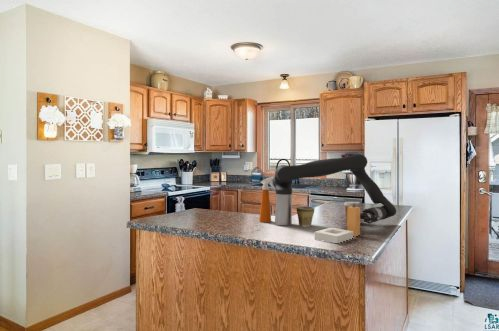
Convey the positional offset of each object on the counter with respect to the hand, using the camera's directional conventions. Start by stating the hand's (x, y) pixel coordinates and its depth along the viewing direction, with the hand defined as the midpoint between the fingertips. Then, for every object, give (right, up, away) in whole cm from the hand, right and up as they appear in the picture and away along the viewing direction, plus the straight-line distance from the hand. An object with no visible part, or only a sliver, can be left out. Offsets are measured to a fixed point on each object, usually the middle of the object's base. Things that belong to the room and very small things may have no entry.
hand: (356, 218), depth 171 cm
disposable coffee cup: (+6, -7, +29) cm, 31 cm away
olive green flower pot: (-22, -7, +23) cm, 32 cm away
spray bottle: (-42, -7, +32) cm, 53 cm away
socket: (-13, -8, -9) cm, 18 cm away
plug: (-2, -8, -2) cm, 8 cm away
